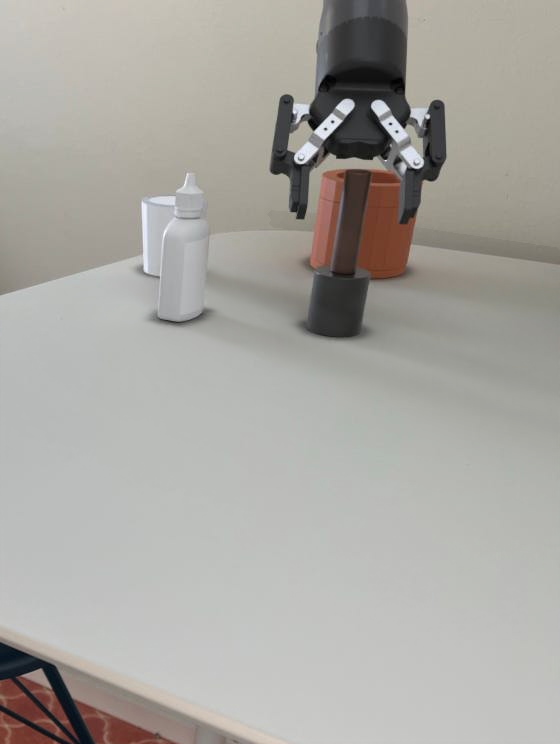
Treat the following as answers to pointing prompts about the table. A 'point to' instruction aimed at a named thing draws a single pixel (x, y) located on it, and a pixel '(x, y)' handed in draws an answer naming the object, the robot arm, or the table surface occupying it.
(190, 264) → the eye dropper bottle
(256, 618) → the table surface
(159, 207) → the white cup
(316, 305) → the brush
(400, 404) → the table surface
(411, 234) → the jar
